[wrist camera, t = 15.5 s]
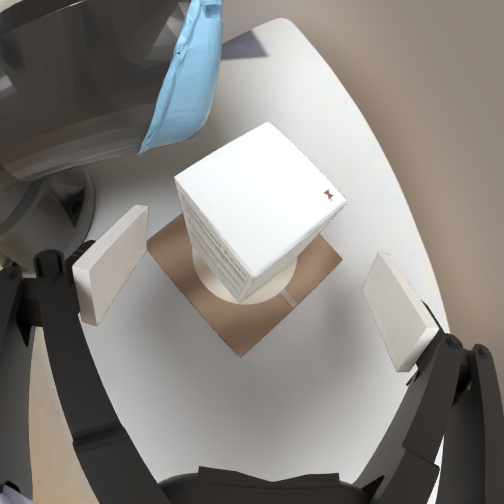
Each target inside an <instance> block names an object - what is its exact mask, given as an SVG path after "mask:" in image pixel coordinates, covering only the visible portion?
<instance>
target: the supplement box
mask: <svg viewBox="0 0 504 504" xmlns="http://www.w3.org/2000/svg"><path fill="white" fill-rule="evenodd" d="M174 180H175V184H176V188H177V192H178V196H179V200H180V204H181V207H182V211H183V214H184V219H185V222H186V227H187V231H188V234H189V238H190V242H191V245H192V246H193V247H194V249H195V250H196V251H197V252H198V254H199V255H200V256H201V257H202V259H203V260H204V261H205V262H206V264H207V265H208V266H209V267H210V269H211V270H212V271H213V272H214V274H215V275H216V276H217V277H218V278H219V280H220V281H221V282H222V283H223V285H224V286H225V287H226V288H227V290H228V291H229V292H230V293H231V294H232V296H233V297H234V298H235V299H236V300H237V302H238V303H242V302H243V301H244V300H246V299H247V298H248V297H250V296H251V295H252V294H254V293H255V292H256V291H257V290H259V289H260V288H261V287H263V286H264V285H265V284H266V283H268V282H269V281H270V280H271V279H272V278H274V277H275V276H276V275H277V274H278V273H279V272H281V271H282V270H283V269H284V268H285V267H286V266H287V265H288V264H290V263H291V262H292V261H293V260H294V259H295V258H296V257H297V256H298V255H299V254H300V253H301V252H302V251H303V250H304V249H305V248H306V246H307V245H308V244H309V243H310V242H311V241H312V240H313V239H314V238H315V237H316V236H317V235H318V234H319V233H320V232H321V230H322V229H323V228H324V227H325V226H326V225H327V224H328V223H329V222H330V221H331V220H332V219H333V218H334V216H335V215H336V214H337V213H338V212H339V211H340V210H341V209H342V208H343V207H344V206H345V204H346V203H347V200H346V198H345V197H344V196H343V195H342V194H341V193H340V192H339V191H338V190H337V189H336V187H335V186H334V185H333V184H332V183H331V182H330V181H329V180H328V179H327V178H326V177H325V176H324V175H323V174H322V173H321V171H320V170H319V169H318V168H317V167H316V166H315V165H314V164H313V163H312V162H311V161H310V160H309V159H308V158H307V157H306V156H305V155H304V154H303V153H302V152H301V151H300V150H299V149H298V148H297V147H296V146H295V145H294V144H293V143H292V142H291V141H290V140H289V139H287V138H286V137H285V136H284V135H283V134H282V133H281V132H280V131H279V130H278V129H277V128H276V127H275V126H274V125H272V124H271V123H270V122H265V123H263V124H261V125H260V126H258V127H256V128H254V129H252V130H251V131H249V132H247V133H245V134H243V135H242V136H240V137H238V138H236V139H234V140H233V141H231V142H229V143H228V144H226V145H224V146H222V147H221V148H219V149H217V150H216V151H214V152H212V153H211V154H209V155H208V156H206V157H204V158H203V159H201V160H199V161H198V162H196V163H195V164H193V165H191V166H190V167H188V168H187V169H185V170H184V171H182V172H180V173H179V174H177V175H176V176H175V177H174Z"/></svg>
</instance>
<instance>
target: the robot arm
mask: <svg viewBox="0 0 504 504" xmlns="http://www.w3.org/2000/svg"><path fill="white" fill-rule="evenodd" d="M222 6H223V0H0V266H1V267H3V268H4V269H2V270H1V271H0V504H35V503H34V502H33V501H32V493H33V485H32V472H31V462H30V449H29V425H28V407H29V382H30V369H31V358H32V349H33V341H34V334H35V328H36V326H37V327H43V332H44V337H45V343H46V348H47V352H48V357H49V362H50V366H51V370H52V374H53V378H54V382H55V385H56V389H57V392H58V396H59V399H60V403H61V406H62V409H63V412H64V415H65V418H66V421H67V424H68V426H69V429H70V432H71V435H72V438H73V447H74V450H75V453H76V455H77V458H78V460H79V462H80V465H81V467H82V469H83V471H84V473H85V476H86V478H87V480H88V482H89V484H90V486H91V488H92V490H93V492H94V494H95V496H96V498H97V499H98V501H99V503H100V504H427V502H428V499H429V497H430V495H431V492H432V490H433V487H434V485H435V483H436V480H437V477H438V475H439V471H440V468H439V466H437V465H436V464H434V462H435V459H436V456H437V453H438V450H439V447H440V444H441V441H442V438H443V435H444V444H443V455H442V465H441V473H440V480H439V487H438V493H437V498H436V503H435V504H504V415H503V408H502V402H501V396H500V390H499V385H498V380H497V375H496V370H495V366H494V362H493V358H492V355H491V353H490V351H489V349H488V348H486V347H485V346H483V345H481V344H475V345H474V347H473V348H472V350H471V351H469V350H466V349H463V345H462V343H461V342H460V341H459V340H458V338H456V337H455V336H454V335H451V334H448V333H444V331H443V329H442V328H441V326H440V324H439V323H438V321H437V320H436V319H435V317H434V315H433V313H432V312H431V310H430V309H429V307H428V306H427V305H426V304H425V303H424V302H423V301H422V300H421V299H420V298H419V296H418V295H417V293H416V292H415V290H414V289H413V287H412V286H411V284H410V283H409V281H408V280H407V278H406V277H405V276H404V274H403V273H402V271H401V270H400V269H399V267H398V266H397V264H396V263H395V262H394V260H393V259H392V257H391V256H390V255H389V254H387V253H382V252H378V253H377V256H376V258H375V261H374V263H373V265H372V268H371V270H370V272H369V275H368V277H367V279H366V282H365V284H364V286H363V288H362V292H363V294H364V297H365V299H366V301H367V303H368V305H369V308H370V310H371V312H372V314H373V317H374V319H375V321H376V324H377V326H378V328H379V330H380V333H381V335H382V338H383V340H384V342H385V345H386V347H387V350H388V352H389V355H390V357H391V360H392V362H393V365H394V367H395V370H396V372H409V371H410V370H411V369H412V367H413V366H414V365H415V363H416V365H417V367H418V370H417V371H416V373H415V374H414V375H413V376H412V378H411V379H410V380H409V381H408V383H407V384H406V385H407V386H408V385H409V384H410V385H409V387H408V389H407V392H406V394H405V396H404V398H403V400H402V402H401V404H400V406H399V409H398V411H397V413H396V415H395V417H394V418H393V420H392V422H391V424H390V426H389V428H388V430H387V432H386V433H385V435H384V437H383V439H382V441H381V442H380V444H379V446H378V448H377V449H376V451H375V453H374V454H373V456H372V458H371V459H370V461H369V462H368V464H367V466H366V467H365V469H364V470H363V472H362V473H361V475H360V476H359V478H358V479H357V480H356V481H355V482H354V483H353V484H349V483H346V482H343V481H340V480H339V473H331V474H307V475H303V476H299V477H295V478H290V479H286V480H281V481H276V482H270V481H266V480H263V479H259V478H256V477H252V476H249V475H246V474H243V473H240V472H236V471H230V470H221V469H214V468H207V467H201V466H199V470H198V473H189V474H182V475H178V476H174V477H171V478H168V479H165V480H163V481H161V482H159V483H157V482H156V480H155V479H154V477H153V476H152V474H151V473H150V471H149V469H148V468H147V466H146V465H145V463H144V461H143V460H142V458H141V456H140V455H139V453H138V451H137V449H136V448H135V446H134V444H133V442H132V440H131V439H130V437H129V435H128V433H127V431H126V430H125V428H124V427H123V426H122V424H121V423H120V421H119V419H118V417H117V415H116V413H115V410H114V408H113V406H112V404H111V402H110V400H109V398H108V395H107V393H106V391H105V388H104V386H103V384H102V381H101V379H100V377H99V374H98V372H97V369H96V367H95V364H94V361H93V359H92V356H91V353H90V351H89V348H88V345H87V342H86V339H85V336H84V333H83V330H82V327H81V324H80V321H79V318H78V313H79V312H80V315H81V319H82V322H84V323H88V324H91V325H94V326H98V325H99V323H100V321H101V320H102V318H103V316H104V315H105V313H106V311H107V310H108V308H109V307H110V305H111V303H112V302H113V300H114V299H115V297H116V296H117V294H118V293H119V291H120V289H121V288H122V286H123V285H124V283H125V282H126V280H127V279H128V277H129V276H130V274H131V273H132V271H133V270H134V268H135V267H136V265H137V264H138V262H139V261H140V259H141V258H142V257H143V255H144V254H145V252H146V251H147V223H148V206H143V205H137V204H136V205H134V206H133V207H132V208H131V209H130V210H129V211H128V212H127V213H126V214H124V215H123V216H122V217H121V218H120V219H119V220H118V221H117V222H116V223H115V224H114V225H113V226H112V227H111V228H109V229H108V230H107V231H106V232H105V233H104V234H103V235H102V236H101V237H100V238H99V239H98V240H97V241H94V240H89V241H87V242H85V243H83V241H84V239H85V237H86V235H87V233H88V231H89V228H90V225H91V222H92V218H93V214H94V207H95V193H94V187H93V184H92V181H91V178H90V176H89V175H88V173H87V172H86V170H85V169H84V167H83V166H82V165H86V164H90V163H93V162H97V161H101V160H105V159H109V158H113V157H117V156H121V155H126V154H130V153H135V152H136V154H138V155H139V154H143V153H144V152H146V151H148V149H151V148H155V147H159V146H163V145H168V144H172V143H177V142H181V141H185V140H187V139H189V138H191V137H193V136H194V135H195V134H196V133H197V132H198V131H199V130H200V129H201V128H202V127H203V125H204V124H205V122H206V120H207V118H208V116H209V113H210V110H211V107H212V104H213V99H214V95H215V90H216V85H217V79H218V73H219V66H220V57H221V48H222V34H223V24H222V22H221V21H220V18H221V15H222ZM82 243H83V244H82ZM470 386H471V387H470ZM469 387H470V389H469Z"/></svg>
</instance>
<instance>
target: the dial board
mask: <svg viewBox="0 0 504 504" xmlns="http://www.w3.org/2000/svg"><path fill="white" fill-rule="evenodd" d="M147 250H148V251H149V252H150V254H151V255H152V256H153V258H154V259H155V260H156V261H157V263H158V264H159V265H160V266H161V268H162V269H163V270H164V271H165V273H166V274H167V275H168V276H169V278H170V279H171V280H172V281H173V282H174V284H175V285H176V286H177V287H178V288H179V290H180V291H181V292H182V293H183V294H184V296H185V297H186V298H187V299H188V300H189V302H190V303H191V304H192V305H193V306H194V307H195V309H196V310H197V311H198V312H199V313H200V314H201V315H202V317H203V318H204V319H205V320H206V321H207V322H208V323H209V325H210V326H211V327H212V328H213V329H214V330H215V331H216V332H217V334H218V335H219V336H220V337H221V338H222V339H223V340H224V341H225V342H226V343H227V345H228V346H229V347H230V348H231V349H232V350H233V351H234V352H235V353H236V354H237V355H238V356H239V357H240V358H241V357H242V356H243V355H244V354H245V353H246V352H247V351H248V350H250V349H251V348H252V347H253V346H254V345H255V344H256V343H257V342H258V341H260V340H261V339H262V338H263V337H264V336H265V335H266V334H267V333H268V332H269V331H270V330H271V329H273V328H274V327H275V326H276V325H277V324H278V323H279V322H280V321H281V320H282V319H283V318H284V317H285V316H286V315H287V314H288V313H289V312H291V311H292V310H293V309H294V308H295V307H296V306H297V305H298V304H299V303H300V302H301V301H302V300H303V299H304V298H305V297H306V296H307V295H308V294H309V293H310V292H311V291H312V290H313V289H314V288H315V287H316V286H317V285H318V284H319V283H320V282H321V281H322V280H323V279H324V278H325V277H326V276H327V275H328V274H329V273H330V272H331V271H332V270H333V269H334V268H335V267H336V266H337V265H338V264H339V263H340V262H341V261H342V258H341V257H340V256H339V255H338V254H337V252H336V251H335V250H334V249H333V248H332V247H331V246H330V245H329V244H328V243H327V242H326V241H325V239H324V238H323V237H322V236H321V235H320V234H318V235H317V236H316V237H315V238H314V239H313V240H312V241H311V242H310V243H309V244H308V245H307V246H306V248H305V249H304V250H303V251H302V252H301V253H300V254H299V255H298V256H297V257H296V258H295V259H294V260H293V261H292V262H291V263H290V264H288V265H287V266H286V267H285V268H284V269H283V270H282V271H281V272H279V273H278V274H277V275H276V276H275V277H274V278H272V279H271V280H270V281H269V282H268V283H266V284H265V285H264V286H263V287H261V288H260V289H259V290H257V291H256V292H255V293H254V294H252V295H251V296H250V297H248V298H247V299H246V300H244V301H243V302H242V303H238V302H237V300H236V299H235V298H234V297H233V296H232V294H231V293H230V292H229V291H228V290H227V288H226V287H225V286H224V285H223V283H222V282H221V281H220V280H219V278H218V277H217V276H216V275H215V274H214V272H213V271H212V270H211V269H210V267H209V266H208V265H207V264H206V262H205V261H204V260H203V259H202V257H201V256H200V255H199V254H198V252H197V251H196V250H195V249H194V247H193V246H192V245H191V242H190V238H189V234H188V231H187V227H186V222H185V219H184V214H183V213H182V214H181V215H179V216H178V217H177V218H175V219H174V220H173V221H172V222H170V223H169V224H168V225H166V226H165V227H164V228H163V229H161V230H160V231H159V232H158V233H156V234H155V235H154V236H153V237H151V238H150V239H149V240H148V241H147Z"/></svg>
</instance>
